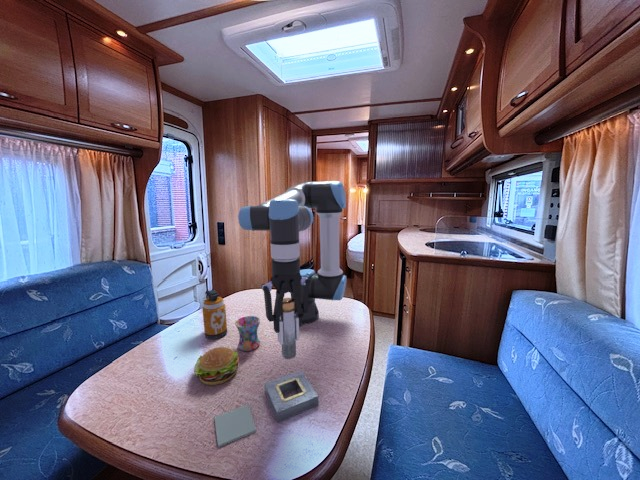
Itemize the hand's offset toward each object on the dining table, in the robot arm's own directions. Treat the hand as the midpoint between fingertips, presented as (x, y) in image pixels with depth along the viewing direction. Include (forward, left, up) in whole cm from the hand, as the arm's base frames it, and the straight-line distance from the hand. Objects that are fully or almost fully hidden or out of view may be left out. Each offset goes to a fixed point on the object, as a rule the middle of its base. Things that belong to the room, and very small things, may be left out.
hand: (288, 339), depth 72 cm
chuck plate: (0, 0, -19) cm, 19 cm away
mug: (+4, -34, -19) cm, 39 cm away
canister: (+16, -50, -19) cm, 56 cm away
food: (+18, -22, -19) cm, 34 cm away
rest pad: (+16, +1, -19) cm, 25 cm away
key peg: (0, 0, -5) cm, 5 cm away
